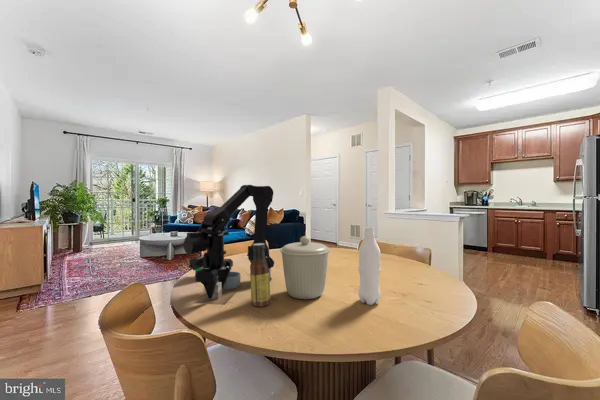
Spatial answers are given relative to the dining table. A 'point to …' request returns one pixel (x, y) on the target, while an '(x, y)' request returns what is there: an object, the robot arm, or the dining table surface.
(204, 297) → the lid
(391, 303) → the dining table surface
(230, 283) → the bowl
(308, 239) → the canister
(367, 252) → the water bottle
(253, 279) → the sauce bottle
